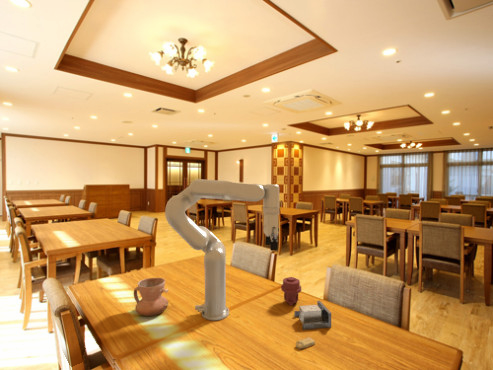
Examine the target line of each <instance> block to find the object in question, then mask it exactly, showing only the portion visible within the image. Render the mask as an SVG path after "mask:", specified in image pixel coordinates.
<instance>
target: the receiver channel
mask: <svg viewBox="0 0 493 370" xmlns="http://www.w3.org/2000/svg"><path fill="white" fill-rule="evenodd" d="M316 305H317V306H318V307H319V308H320V309H321V313H322V318H321V322H313V323H302V322H301V324H302V327H301V328H302V330H303V331H304V330H314V329H327V328H332V312H331V311H330V310H329V308H327V307H326V305H325V304H324V303H323V302H322V300H317V303H316ZM293 316H294V317H295V318H297V317H299V310H296V311H295V310H294V315H293Z"/></svg>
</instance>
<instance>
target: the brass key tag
mask: <svg viewBox="0 0 493 370" xmlns="http://www.w3.org/2000/svg"><path fill="white" fill-rule="evenodd" d="M314 345H316V341H315V340H314V339H312V338H311V337H310V336H308V337H306V338H303V339H300V340H297V341H296V342H295V346H296V349H298V350H304V349H307V348H309V347H312V346H314Z"/></svg>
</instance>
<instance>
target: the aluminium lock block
mask: <svg viewBox="0 0 493 370" xmlns="http://www.w3.org/2000/svg"><path fill="white" fill-rule="evenodd" d="M298 311H299V321H300V322H301V324H302V323H313V322H322V319H321V318H322V313H321V309H320V308H319V307H318V306H317V304H309V305H300V306H299V310H298Z"/></svg>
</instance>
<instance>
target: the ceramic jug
mask: <svg viewBox="0 0 493 370" xmlns="http://www.w3.org/2000/svg"><path fill="white" fill-rule="evenodd" d="M165 285H166V279H165V278H163V277H148V278H144V279H141V280H139V281H138V283H137V286H136V287H135V288H134V289H133V298H134V300H135V302H136V305H135V307H134V308H135V312H136V313H137V314H138V315H140V316H144V317H152V316H156V315H159V314H161V313H163V312H164V311H165V310H166V309H167V308H168V306H169V300H168V299H167V297H165V296H164V295H163V293H165V294H167V293H168V292H169V289H168V288H165ZM138 292H139V294H140V296H141V299H140V298H139V296H138Z"/></svg>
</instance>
